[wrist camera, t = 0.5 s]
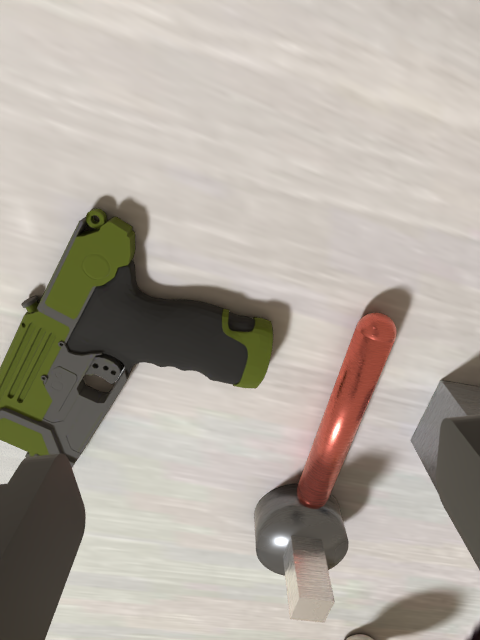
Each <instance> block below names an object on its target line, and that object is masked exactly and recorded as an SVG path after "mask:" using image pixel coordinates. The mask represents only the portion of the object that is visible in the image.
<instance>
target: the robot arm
mask: <svg viewBox="0 0 480 640" xmlns="http://www.w3.org/2000/svg"><path fill="white" fill-rule="evenodd" d="M436 484H437V489H438V493H439V496H440V499H441V502H442V504H443V506H444V508H445V510H446V511H447V513H448V515H449V517H450V518H451V520H452V522H453V524H454V525H455V527H456V529H457V531H458V533H459V534H460V536H461V538H462V540H463V541H464V543H465V545H466V547H467V548H468V550H469V552H470V554H471V555H472V557H473V559H474V561H475V563H476V564H477V566H478V568H479V570H480V415H472V416H461V417H451V418H444V419H443V420H442V422H441V427H440V436H439V446H438V457H437V467H436ZM84 529H85V507H84V504H83V501H82V498H81V495H80V492H79V489H78V486H77V483H76V480H75V477H74V474H73V471H72V468H71V465H70V462H69V459H68V457H67V456H66V455H65V454H52V455H42V456H31V457H27V458H25V459H24V460H23V461H22V462H21V464H20V465H19V467H18V468H17V470H16V471H15V473H14V474H13V476H12V478H11V479H10V481H9V482H8V484H1V485H0V640H45V638H46V635H47V632H48V629H49V627H50V624H51V621H52V619H53V616H54V613H55V611H56V608H57V605H58V602H59V600H60V597H61V594H62V592H63V589H64V586H65V583H66V581H67V578H68V575H69V573H70V570H71V567H72V565H73V562H74V559H75V556H76V554H77V551H78V548H79V546H80V543H81V540H82V537H83V534H84Z"/></svg>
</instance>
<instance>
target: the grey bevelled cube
mask: <svg viewBox="0 0 480 640" xmlns="http://www.w3.org/2000/svg"><path fill="white" fill-rule="evenodd" d="M472 415H480V387H478V386H472V385H466V384H460V383H454V382H448V381H442V380H441V381H440V383H439V385H438V387H437V389H436V391H435V393H434V395H433V397H432V399H431V401H430V403H429V405H428V407H427V409H426V411H425V413H424V415H423V417H422V419H421V421H420V423H419V425H418V427H417V429H416V431H415V433H414V435H413V437H412V439H411V442H412V444H413V446H414V448H415V450H416V452H417V454H418V456H419V457H420V459H421V461H422V463H423V465H424V467H425V469H426V471H427V473H428V475H429V476H430V478H431V480H432V482H433V484H434V486H435V488H436V490H437V492H438V489H437V484H436V467H437V457H438V446H439V436H440V427H441V422H442V420H443V419H444V418H451V417H461V416H472ZM438 494H439V493H438Z"/></svg>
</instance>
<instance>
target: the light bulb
mask: <svg viewBox="0 0 480 640" xmlns="http://www.w3.org/2000/svg"><path fill="white" fill-rule="evenodd" d="M346 640H374V639H372V638H371V637H369V636H367V635H363V634H357V635H353V636H350V637H348V638H347V639H346Z"/></svg>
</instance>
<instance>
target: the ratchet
mask: <svg viewBox="0 0 480 640" xmlns="http://www.w3.org/2000/svg"><path fill="white" fill-rule="evenodd" d="M396 333H397V331H396V326H395V324H394V322H393V321H392V319H391V318H389V317H388V316H387V315H385V314H382V313H370V314H367V315H365V316H364V317H362V318H361V319H360V321H359V322H358V324H357V326H356V329H355V331H354V334H353V337H352V340H351V342H350V345H349V348H348V350H347V353H346V356H345V359H344V361H343V364H342V367H341V369H340V372H339V375H338V378H337V380H336V383H335V386H334V388H333V391H332V394H331V397H330V399H329V402H328V405H327V407H326V410H325V413H324V415H323V418H322V421H321V424H320V426H319V429H318V432H317V434H316V437H315V440H314V443H313V445H312V448H311V451H310V453H309V456H308V459H307V462H306V464H305V467H304V470H303V472H302V475H301V478H300V481H299V483H298V484H290V485H285V486H282V487H279V488H277V489H274V490H272V491H271V492H269V493H268V494H266V495H265V496H264V497H263V498H262V499H261V500H260V501H259V503H258V504H257V506H256V508H255V513H254V521H255V539H256V553H257V556H258V559H259V560H260V562H261V563H262V564H263V565H264V566H265V567H266V568H268V569H269V570H271V571H273V572H275V573H278V574H281V575H285V579H286V588H287V596H288V605H289V614H290V619H295V620H304V621H314V622H325V620H326V618H327V616H328V614H329V612H330V610H331V608H332V606H333V604H334V602H335V601H334V596H333V591H332V587H331V582H330V577H329V572H328V570H329V569H331V568H333V567H334V566H336V565H337V564H338V563H339V562H340V561H341V560H342V559H343V558H344V556H345V555H346V553H347V550H348V538H347V534H346V530H345V527H344V523H343V519H342V515H341V512H340V508H339V504H338V502H337V500H336V499H335V497H334V496H333V495H332V494H331V491H332V489H333V486H334V484H335V481H336V479H337V477H338V474H339V472H340V470H341V467H342V465H343V462H344V460H345V458H346V455H347V453H348V451H349V448H350V446H351V443H352V441H353V439H354V436H355V434H356V431H357V429H358V427H359V424H360V422H361V420H362V417H363V415H364V412H365V410H366V408H367V405H368V403H369V401H370V398H371V396H372V393H373V391H374V389H375V386H376V384H377V382H378V379H379V377H380V374H381V372H382V370H383V367H384V365H385V363H386V360H387V358H388V355H389V353H390V351H391V348H392V346H393V343H394V341H395V338H396Z"/></svg>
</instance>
